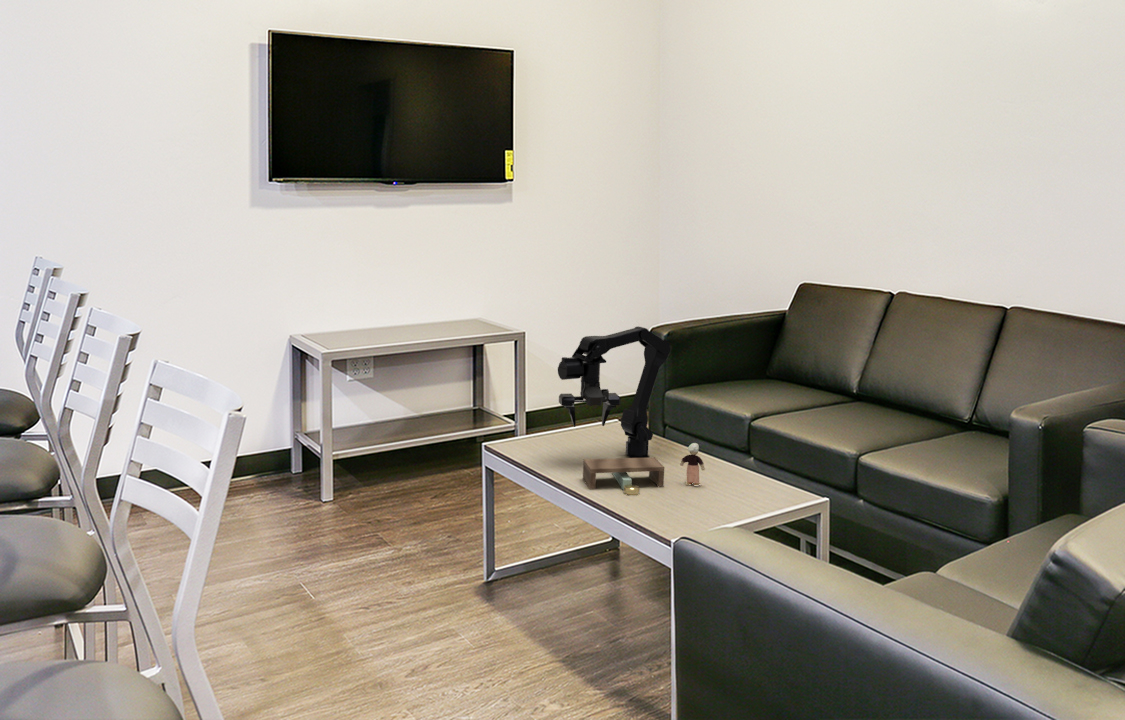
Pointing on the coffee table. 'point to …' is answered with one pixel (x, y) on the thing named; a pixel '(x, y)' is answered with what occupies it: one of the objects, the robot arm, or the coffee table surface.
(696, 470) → the grandmother figurine
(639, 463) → the walnut shelf
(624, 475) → the green blade
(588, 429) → the coffee table surface
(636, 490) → the brass disc
